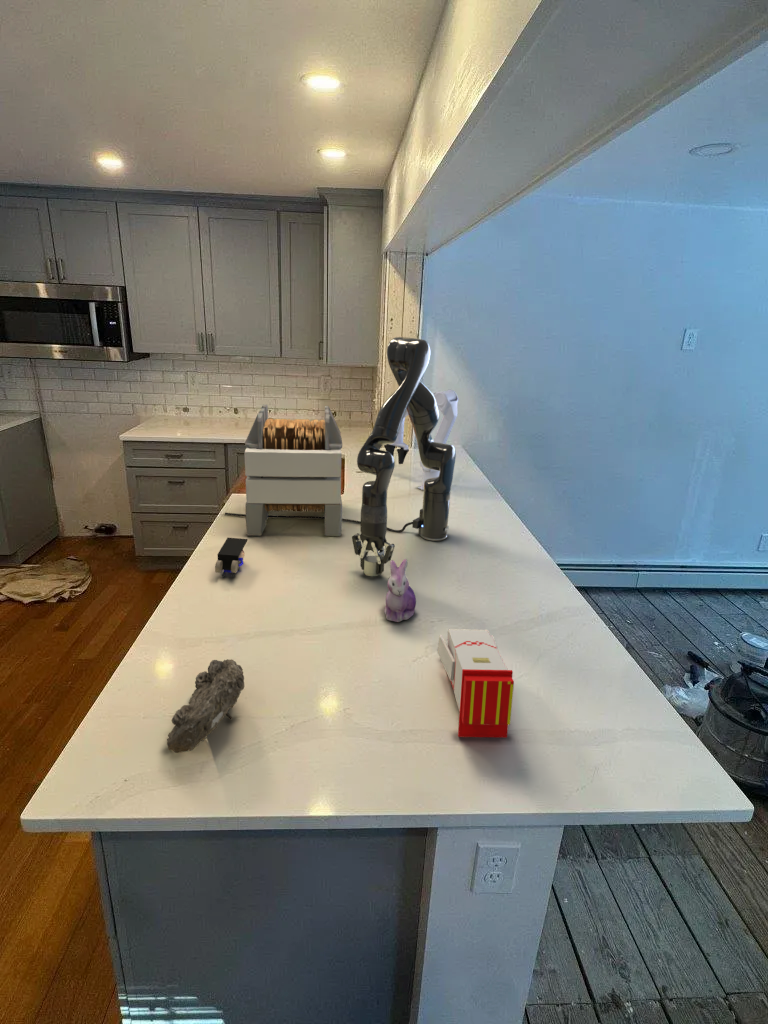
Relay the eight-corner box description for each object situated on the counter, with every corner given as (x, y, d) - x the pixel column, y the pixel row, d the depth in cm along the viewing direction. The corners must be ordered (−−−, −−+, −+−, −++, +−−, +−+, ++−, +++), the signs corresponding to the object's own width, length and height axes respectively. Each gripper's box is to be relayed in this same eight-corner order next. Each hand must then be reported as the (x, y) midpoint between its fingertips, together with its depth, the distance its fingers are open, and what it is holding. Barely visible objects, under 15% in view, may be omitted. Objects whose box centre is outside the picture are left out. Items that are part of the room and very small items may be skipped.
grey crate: (255, 503, 223) (251, 399, 209) (338, 504, 226) (340, 401, 213) (245, 536, 191) (239, 416, 177) (342, 536, 195) (344, 418, 181)
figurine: (392, 627, 141) (395, 572, 136) (374, 608, 149) (376, 556, 144) (425, 619, 145) (429, 566, 140) (405, 601, 154) (408, 550, 149)
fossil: (192, 660, 117) (244, 628, 112) (224, 691, 120) (276, 661, 115) (142, 746, 98) (202, 712, 93) (182, 779, 101) (242, 748, 96)
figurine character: (238, 584, 162) (249, 557, 175) (236, 562, 158) (247, 536, 172) (215, 584, 161) (227, 556, 175) (212, 561, 158) (225, 535, 171)
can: (360, 573, 167) (361, 559, 165) (368, 567, 171) (369, 554, 169) (375, 577, 165) (375, 563, 163) (382, 571, 169) (383, 557, 167)
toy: (488, 613, 130) (523, 677, 101) (484, 667, 133) (517, 744, 104) (435, 612, 130) (455, 676, 101) (432, 666, 133) (451, 743, 103)
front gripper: (345, 515, 163) (344, 569, 168) (387, 527, 155) (385, 582, 161) (360, 508, 168) (359, 560, 174) (402, 519, 161) (399, 573, 167)
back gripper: (380, 430, 257) (379, 459, 262) (400, 436, 246) (398, 466, 251) (392, 428, 261) (391, 457, 266) (412, 435, 251) (411, 464, 255)
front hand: (372, 571), depth 168 cm, fingers closed on can, 4 cm apart
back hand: (395, 461), depth 259 cm, fingers open, 7 cm apart
